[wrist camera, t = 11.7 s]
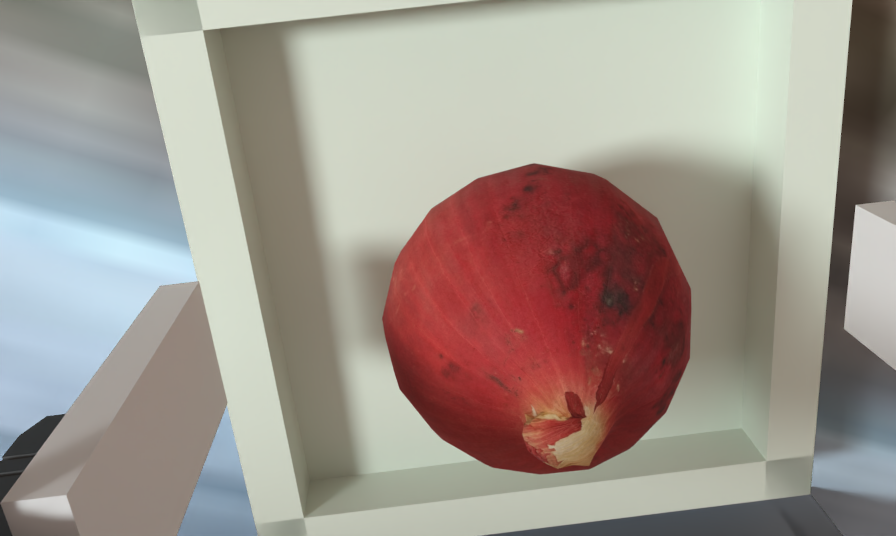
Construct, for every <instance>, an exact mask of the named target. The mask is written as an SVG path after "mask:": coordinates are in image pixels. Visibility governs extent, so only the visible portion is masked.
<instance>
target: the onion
mask: <svg viewBox="0 0 896 536" xmlns="http://www.w3.org/2000/svg"><path fill="white" fill-rule="evenodd" d="M382 321H383V327H384V333H385V338H386V342H387V346H388V350H389V354H390V358H391V362H392V366H393V370H394V373H395V376H396V380H397V383H398V386H399V389H400V390H401V392H402V393H403V394H404V395H405V397H406V398H407V399H408V400H409V402H410V403H411V404H412V405H413V407H414V408H415V409H416V410H417V411H418V413H419V414H420V415H421V416H422V418H423V419H424V420H425V421H426V423H427V424H428V425H429V426H430V428H431V429H432V430H433V431H434V432H435V433H436V434H437V435H438V436H439V437H440V438H441V439H442V440H444V441H446V442H447V443H449V444H451V445H452V446H454V447H456V448H458V449H459V450H461V451H463V452H465V453H466V454H468V455H470V456H472V457H473V458H475V459H477V460H478V461H480V462H482V463H484V464H486V465H488V466H490V467H492V468H498V469H505V470H512V471H519V472H526V473H532V474H539V475H541V474H551V473H560V472H569V471H579V470H588V469H591V468H593V467H595V466H597V465H599V464H601V463H603V462H605V461H607V460H609V459H611V458H613V457H615V456H617V455H619V454H621V453H623V452H625V451H627V450H629V449H630V448H631V447H633V446H634V445H635V444H636V443H637V442H638V441H639V440H640V439H641V438H642V437H643V436H644V435H645V434H646V433H647V432H648V430H649V429H650V428H651V427H652V426H653V425H654V424H655V423H656V422H657V421H658V420H659V419H660V418H661V417H662V416H663V415H664V414H665V413H666V412H667V410H668V407H669V405H670V403H671V401H672V398H673V396H674V394H675V392H676V389H677V387H678V385H679V382H680V380H681V378H682V376H683V373H684V371H685V369H686V366H687V364H688V361H689V359H690V339H691V288H690V286H689V284H688V282H687V279H686V277H685V275H684V273H683V271H682V269H681V267H680V265H679V262H678V260H677V258H676V256H675V254H674V252H673V250H672V248H671V246H670V243H669V241H668V239H667V237H666V235H665V233H664V231H663V229H662V227H661V224H660V222H659V220H658V218H657V217H655V216H654V215H653V214H651V213H650V212H649V211H648V210H646V209H645V208H644V207H642V206H641V205H640V204H638V203H637V202H636V201H634V200H633V199H632V198H630V197H629V196H628V195H626V194H625V193H624V192H622V191H621V190H620V189H618V188H617V187H616V186H614V185H613V184H612V183H610V182H609V181H608V180H607V179H604V178H602V177H600V176H598V175H595V174H592V173H587V172H581V171H576V170H570V169H564V168H559V167H553V166H548V165H542V164H536V163H532V164H529V165H525V166H521V167H517V168H514V169H510V170H506V171H502V172H499V173H495V174H491V175H488V176H484V177H480V178H477V179H475V180H474V181H472V182H471V183H469V184H468V185H466V186H465V187H463V188H462V189H460V190H459V191H457V192H456V193H454V194H453V195H451V196H450V197H448V198H447V199H445V200H444V201H442V202H441V203H439V204H437V205H436V206H434V207H433V208H431V210H430V211H429V212H428V214H427V215H426V217H425V218H424V220H423V221H422V222H421V224H420V225H419V226H418V228H417V229H416V231H415V232H414V233H413V235H412V236H411V238H410V239H409V240H408V242H407V243H406V245H405V246H404V247H403V249H402V250H401V252H400V254H399V256H398V258H397V260H396V262H395V264H394V268H393V272H392V277H391V281H390V286H389V290H388V295H387V299H386V303H385V308H384V312H383V317H382Z"/></svg>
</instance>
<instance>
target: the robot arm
mask: <svg viewBox="0 0 896 536" xmlns="http://www.w3.org/2000/svg"><path fill="white" fill-rule="evenodd" d="M844 329H845V330H846V331H847V332H849V333H850V334H851V335H852V336H854V337H855V338H856V339H857V340H859V341H860V342H861V343H862V344H863V345H865V346H866V347H867V348H868V349H870V350H871V351H872V352H873V353H875V354H876V355H877V356H878V357H880V358H881V359H882V360H883V361H885V362H886V363H887V364H888V365H889V366H891V367H892V368H893V369H894V370H896V202H895V201H885V202H877V203H868V204H859V205H856V207H855V218H854V228H853V239H852V249H851V260H850V270H849V281H848V291H847V302H846V312H845V323H844ZM227 403H228V402H227V398H226V394H225V389H224V385H223V381H222V377H221V372H220V368H219V364H218V360H217V355H216V351H215V347H214V343H213V338H212V334H211V330H210V326H209V321H208V317H207V313H206V309H205V304H204V300H203V296H202V292H201V287H200V283H199V281H197V282H189V283H180V284H172V285H163V286H159V288H158V289H157V291H156V292H155V293H154V295H153V296H152V297H151V299H150V300H149V301H148V303H147V304H146V306H145V307H144V308H143V310H142V311H141V312H140V314H139V315H138V316H137V318H136V319H135V320H134V322H133V323H132V325H131V326H130V327H129V329H128V330H127V331H126V333H125V334H124V335H123V337H122V338H121V339H120V341H119V342H118V344H117V345H116V346H115V348H114V349H113V350H112V352H111V353H110V354H109V356H108V357H107V359H106V360H105V361H104V363H103V364H102V365H101V367H100V368H99V369H98V371H97V372H96V373H95V375H94V376H93V378H92V379H91V380H90V382H89V383H88V384H87V386H86V387H85V388H84V390H83V391H82V393H81V394H80V395H79V397H78V398H77V399H76V401H75V402H74V403H73V405H72V406H71V407H70V409H69V410H68V412H67V413H66V414H62V415H54V416H46V417H45V418H44V419H42V420H41V421H39V422H38V423H37V424H35V425H34V426H32V427H31V428H30V429H28V430H27V431H25V432H24V433H23V434H21V435H20V436H19V437H18V438H17V439H16V441H15V442H14V443H13V444H12V446H11V447H10V448H9V449H8V451H7V452H6V453H5V454H4V456H3V457H2V458H3V460H2V461H0V536H177V533H178V531H179V528H180V526H181V523H182V520H183V518H184V515H185V513H186V510H187V507H188V505H189V502H190V499H191V497H192V494H193V492H194V489H195V486H196V484H197V481H198V479H199V476H200V473H201V471H202V468H203V466H204V463H205V460H206V458H207V455H208V453H209V450H210V447H211V445H212V442H213V440H214V437H215V434H216V432H217V429H218V426H219V424H220V421H221V419H222V416H223V413H224V411H225V408H226V406H227Z"/></svg>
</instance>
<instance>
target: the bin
mask: <svg viewBox="0 0 896 536" xmlns="http://www.w3.org/2000/svg"><path fill="white" fill-rule="evenodd" d="M481 536H843V535H842V534H841V532H840V531H839V530H838V529H837V527H836V526H835V525H834V524H833V522H832V521H831V520H830V518H829V517H828V516H827V515H826V513H825V512H824V511H823V510H822V508H821V507H820V506H819V504H818V503H817V502H816V501H815V499H814V498H813V497H812V496H811V494H810V495H802V496H794V497H786V498H778V499H770V500H762V501H754V502H746V503H738V504H730V505H722V506H714V507H706V508H698V509H690V510H682V511H674V512H666V513H658V514H650V515H642V516H634V517H626V518H618V519H610V520H601V521H593V522H585V523H577V524H569V525H561V526H553V527H545V528H537V529H529V530H521V531H513V532H505V533H497V534H489V535H481Z"/></svg>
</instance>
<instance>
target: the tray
mask: <svg viewBox="0 0 896 536" xmlns="http://www.w3.org/2000/svg"><path fill="white" fill-rule="evenodd" d="M132 4H133V8H134V13H135V17H136V21H137V25H138V30H139V34H140V38H141V42H142V47H143V51H144V55H145V59H146V64H147V68H148V72H149V76H150V81H151V85H152V89H153V93H154V98H155V102H156V106H157V110H158V115H159V119H160V123H161V127H162V131H163V136H164V140H165V144H166V148H167V153H168V157H169V161H170V165H171V170H172V174H173V178H174V182H175V187H176V191H177V195H178V199H179V204H180V208H181V212H182V216H183V221H184V225H185V229H186V233H187V238H188V242H189V246H190V250H191V254H192V259H193V263H194V267H195V271H196V276H197V280H198V281H199V283H200V287H201V292H202V296H203V300H204V304H205V309H206V313H207V317H208V321H209V326H210V330H211V334H212V338H213V343H214V347H215V351H216V355H217V360H218V364H219V368H220V372H221V377H222V381H223V385H224V389H225V394H226V398H227V402H228V403H227V407H228V411H229V416H230V420H231V424H232V428H233V433H234V437H235V441H236V445H237V450H238V454H239V458H240V462H241V467H242V471H243V475H244V479H245V483H246V488H247V492H248V496H249V500H250V505H251V509H252V513H253V517H254V522H255V526H256V530H257V534H258V536H481V535H489V534H497V533H505V532H513V531H521V530H529V529H537V528H545V527H553V526H561V525H569V524H577V523H585V522H593V521H601V520H610V519H618V518H626V517H634V516H642V515H650V514H658V513H666V512H674V511H682V510H690V509H698V508H706V507H714V506H722V505H730V504H738V503H746V502H754V501H762V500H770V499H778V498H786V497H794V496H802V495H810V492H811V481H812V469H813V457H814V445H815V434H816V422H817V410H818V398H819V387H820V375H821V363H822V351H823V340H824V328H825V316H826V304H827V293H828V281H829V269H830V257H831V246H832V234H833V222H834V210H835V199H836V187H837V175H838V163H839V152H840V140H841V128H842V116H843V105H844V93H845V81H846V69H847V58H848V46H849V34H850V23H851V11H852V0H132ZM532 163H536V164H542V165H548V166H553V167H559V168H564V169H570V170H576V171H581V172H587V173H592V174H595V175H598V176H600V177H602V178H604V179H607V180H608V181H609V182H610V183H612V184H613V185H614V186H616V187H617V188H618V189H620V190H621V191H622V192H624V193H625V194H626V195H628V196H629V197H630V198H632V199H633V200H634V201H636V202H637V203H638V204H640V205H641V206H642V207H644V208H645V209H646V210H648V211H649V212H650V213H651V214H653V215H654V216H655V217H657V218H658V220H659V222H660V224H661V227H662V229H663V231H664V233H665V235H666V237H667V239H668V241H669V243H670V246H671V248H672V250H673V252H674V254H675V256H676V258H677V260H678V262H679V265H680V267H681V269H682V271H683V273H684V275H685V277H686V279H687V282H688V284H689V286H690V288H691V339H690V359H689V361H688V364H687V366H686V369H685V371H684V373H683V376H682V378H681V380H680V382H679V385H678V387H677V389H676V392H675V394H674V396H673V398H672V401H671V403H670V405H669V407H668V410H667V412H666V413H665V414H664V415H663V416H662V417H661V418H660V419H659V420H658V421H657V422H656V423H655V424H654V425H653V426H652V427H651V428H650V429H649V430H648V432H647V433H646V434H645V435H644V436H643V437H642V438H641V439H640V440H639V441H638V442H637V443H636V444H635V445H634V446H633V447H631V448H630V449H629V450H627V451H625V452H623V453H621V454H619V455H617V456H615V457H613V458H611V459H609V460H607V461H605V462H603V463H601V464H599V465H597V466H595V467H593V468H591V469H588V470H579V471H569V472H560V473H551V474H541V475H539V474H532V473H526V472H519V471H512V470H505V469H498V468H492V467H490V466H488V465H486V464H484V463H482V462H480V461H478V460H477V459H475V458H473V457H472V456H470V455H468V454H466V453H465V452H463V451H461V450H459V449H458V448H456V447H454V446H452V445H451V444H449V443H447V442H446V441H444V440H442V439H441V438H440V437H439V436H438V435H437V434H436V433H435V432H434V431H433V430H432V429H431V428H430V426H429V425H428V424H427V423H426V421H425V420H424V419H423V418H422V416H421V415H420V414H419V413H418V411H417V410H416V409H415V408H414V407H413V405H412V404H411V403H410V402H409V400H408V399H407V398H406V397H405V395H404V394H403V393H402V392H401V390H400V389H399V386H398V383H397V380H396V376H395V373H394V370H393V366H392V362H391V358H390V354H389V350H388V346H387V342H386V338H385V333H384V327H383V321H382V317H383V312H384V308H385V303H386V299H387V295H388V290H389V286H390V281H391V277H392V272H393V268H394V264H395V262H396V260H397V258H398V256H399V254H400V252H401V250H402V249H403V247H404V246H405V245H406V243H407V242H408V240H409V239H410V238H411V236H412V235H413V233H414V232H415V231H416V229H417V228H418V226H419V225H420V224H421V222H422V221H423V220H424V218H425V217H426V215H427V214H428V212H429V211H430V210H431V208H433V207H434V206H436V205H437V204H439V203H441V202H442V201H444V200H445V199H447V198H448V197H450V196H451V195H453V194H454V193H456V192H457V191H459V190H460V189H462V188H463V187H465V186H466V185H468V184H469V183H471V182H472V181H474V180H475V179H477V178H480V177H484V176H488V175H491V174H495V173H499V172H502V171H506V170H510V169H514V168H517V167H521V166H525V165H529V164H532Z"/></svg>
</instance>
